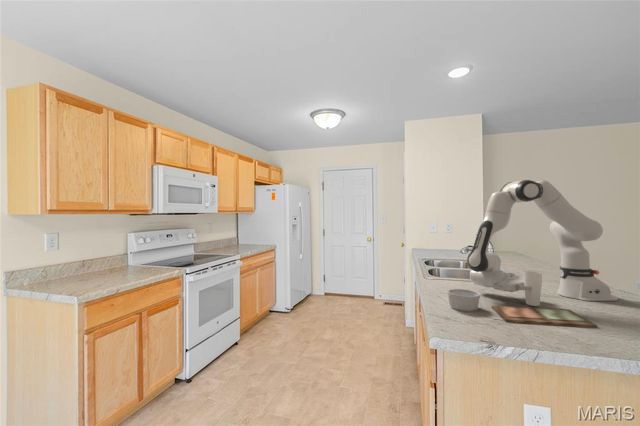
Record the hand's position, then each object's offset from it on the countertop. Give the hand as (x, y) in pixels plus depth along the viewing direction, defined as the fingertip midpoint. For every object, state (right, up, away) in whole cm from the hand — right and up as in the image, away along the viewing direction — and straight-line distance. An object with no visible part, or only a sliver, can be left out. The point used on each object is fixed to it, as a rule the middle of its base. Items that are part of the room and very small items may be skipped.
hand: (534, 287), depth 136 cm
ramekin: (-33, -9, 0) cm, 34 cm away
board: (-8, -9, -14) cm, 18 cm away
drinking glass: (0, -8, +1) cm, 8 cm away
